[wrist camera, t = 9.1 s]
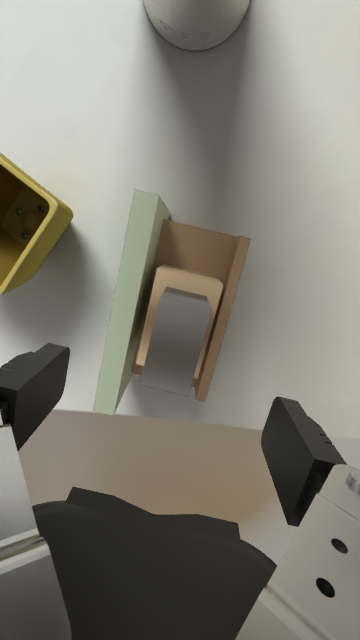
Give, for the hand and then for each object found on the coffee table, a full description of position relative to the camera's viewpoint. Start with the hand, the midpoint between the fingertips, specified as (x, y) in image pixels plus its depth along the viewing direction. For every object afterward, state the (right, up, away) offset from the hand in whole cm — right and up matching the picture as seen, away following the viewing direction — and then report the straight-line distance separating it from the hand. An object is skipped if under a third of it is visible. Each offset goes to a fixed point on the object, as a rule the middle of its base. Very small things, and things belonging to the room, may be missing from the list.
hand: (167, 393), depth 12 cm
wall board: (0, +5, +21) cm, 21 cm away
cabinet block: (+1, +4, +16) cm, 16 cm away
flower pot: (-14, +13, +19) cm, 27 cm away
